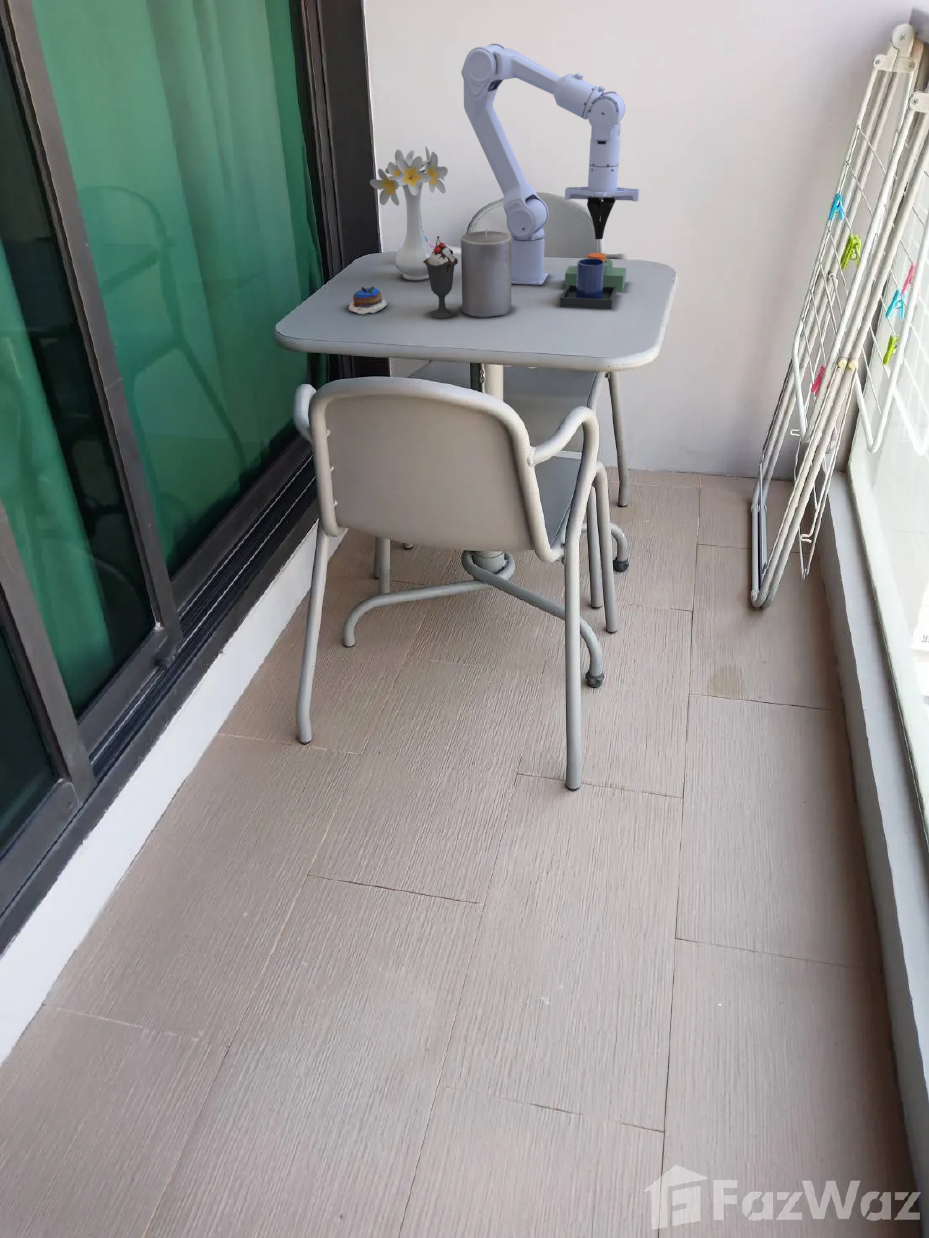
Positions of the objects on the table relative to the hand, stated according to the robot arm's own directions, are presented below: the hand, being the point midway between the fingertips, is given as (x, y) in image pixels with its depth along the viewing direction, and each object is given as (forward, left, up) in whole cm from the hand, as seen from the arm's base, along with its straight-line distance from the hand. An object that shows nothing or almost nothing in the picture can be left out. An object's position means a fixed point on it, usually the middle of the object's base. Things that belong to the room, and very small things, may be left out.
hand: (599, 238), depth 184 cm
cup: (0, -11, -9) cm, 14 cm away
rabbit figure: (-43, +16, -10) cm, 47 cm away
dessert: (-43, -22, -10) cm, 50 cm away
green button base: (0, 0, -10) cm, 10 cm away
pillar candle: (-19, -20, -10) cm, 29 cm away
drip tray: (0, -11, -10) cm, 14 cm away
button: (0, 0, -5) cm, 5 cm away
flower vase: (-39, 0, -10) cm, 40 cm away
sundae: (-27, -24, -10) cm, 37 cm away
